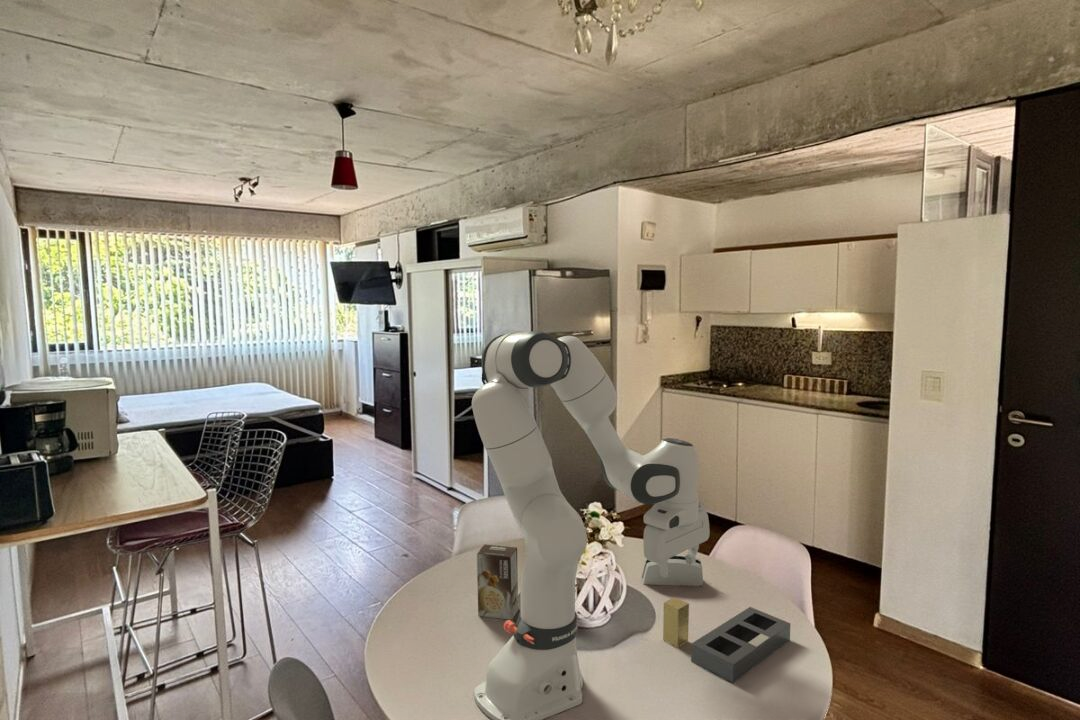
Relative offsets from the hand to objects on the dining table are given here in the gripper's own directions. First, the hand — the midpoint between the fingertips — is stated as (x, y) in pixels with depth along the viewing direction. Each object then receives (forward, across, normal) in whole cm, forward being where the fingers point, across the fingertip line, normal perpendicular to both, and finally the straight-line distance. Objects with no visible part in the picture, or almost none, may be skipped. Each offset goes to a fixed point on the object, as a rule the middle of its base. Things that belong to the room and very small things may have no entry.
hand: (678, 569), depth 133 cm
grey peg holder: (+17, -7, +12) cm, 22 cm away
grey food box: (+16, +24, -37) cm, 47 cm away
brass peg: (+17, +1, 0) cm, 17 cm away
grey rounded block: (+18, -22, -18) cm, 34 cm away
